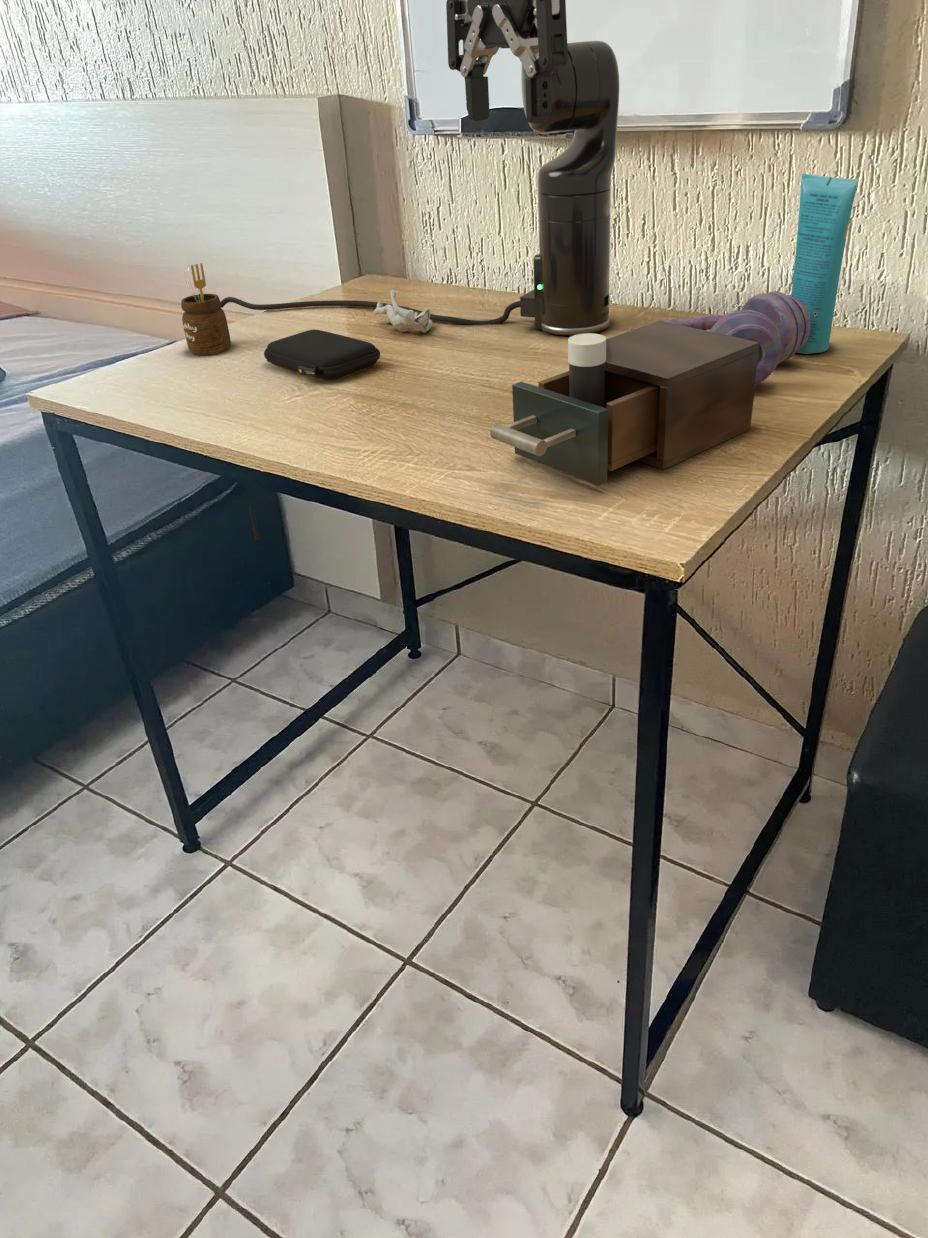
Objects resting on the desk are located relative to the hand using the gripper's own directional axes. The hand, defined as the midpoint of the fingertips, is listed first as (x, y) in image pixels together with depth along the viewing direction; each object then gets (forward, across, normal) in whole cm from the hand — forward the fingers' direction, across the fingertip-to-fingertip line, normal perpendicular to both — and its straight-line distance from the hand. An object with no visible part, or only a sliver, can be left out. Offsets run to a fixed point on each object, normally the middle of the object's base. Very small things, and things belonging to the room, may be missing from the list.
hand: (507, 121), depth 91 cm
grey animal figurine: (+28, +33, -8) cm, 44 cm away
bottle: (+26, -18, +8) cm, 33 cm away
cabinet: (+28, -18, -3) cm, 34 cm away
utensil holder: (+28, +48, +14) cm, 57 cm away
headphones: (+28, -9, -22) cm, 37 cm away
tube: (+28, -14, -35) cm, 47 cm away
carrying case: (+28, +29, +8) cm, 41 cm away
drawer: (+27, -18, +8) cm, 34 cm away
